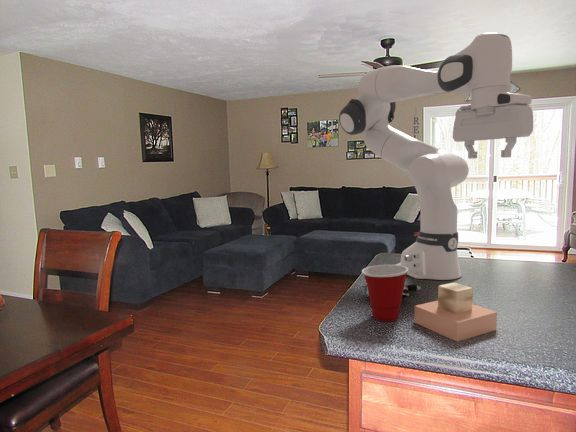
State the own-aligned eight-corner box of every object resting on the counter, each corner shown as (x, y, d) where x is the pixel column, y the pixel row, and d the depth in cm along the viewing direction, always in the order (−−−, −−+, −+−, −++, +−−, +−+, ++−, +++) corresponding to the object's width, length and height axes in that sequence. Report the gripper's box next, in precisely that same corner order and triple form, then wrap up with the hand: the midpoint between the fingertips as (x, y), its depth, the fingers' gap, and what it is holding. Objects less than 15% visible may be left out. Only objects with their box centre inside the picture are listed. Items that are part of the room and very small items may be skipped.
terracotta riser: (414, 322, 95) (414, 305, 94) (451, 313, 100) (452, 297, 100) (457, 341, 84) (457, 322, 84) (496, 329, 90) (497, 312, 89)
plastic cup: (366, 307, 106) (366, 261, 104) (410, 312, 102) (411, 264, 100) (356, 322, 96) (356, 271, 94) (404, 328, 92) (405, 275, 90)
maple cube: (437, 307, 93) (438, 285, 92) (453, 303, 95) (454, 282, 95) (456, 314, 88) (456, 291, 88) (472, 310, 91) (472, 287, 90)
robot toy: (382, 290, 123) (357, 300, 111) (382, 275, 123) (358, 283, 111) (423, 297, 116) (401, 308, 104) (423, 281, 115) (402, 291, 103)
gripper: (447, 106, 110) (446, 159, 112) (521, 94, 92) (518, 156, 93) (464, 107, 113) (463, 159, 114) (538, 95, 95) (535, 156, 96)
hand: (488, 158), depth 104 cm, fingers open, 8 cm apart
